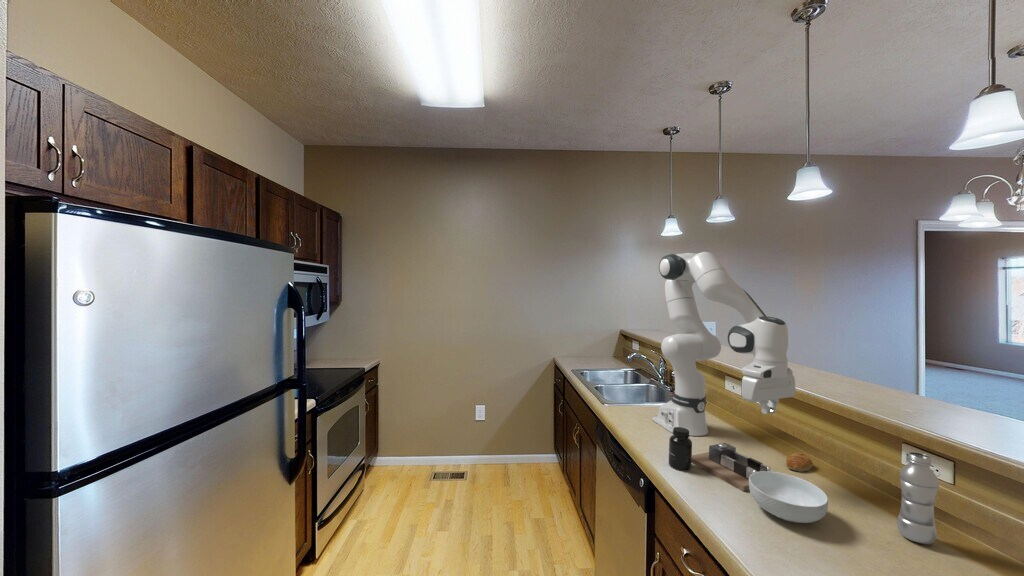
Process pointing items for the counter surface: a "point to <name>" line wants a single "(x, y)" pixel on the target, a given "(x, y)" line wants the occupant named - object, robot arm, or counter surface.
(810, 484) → the cereal bowl
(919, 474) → the plastic bottle
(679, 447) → the supplement bottle
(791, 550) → the counter surface
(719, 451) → the tong hinge
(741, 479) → the walnut board
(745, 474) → the fixed tong arm
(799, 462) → the pastry
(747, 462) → the loose tong arm
